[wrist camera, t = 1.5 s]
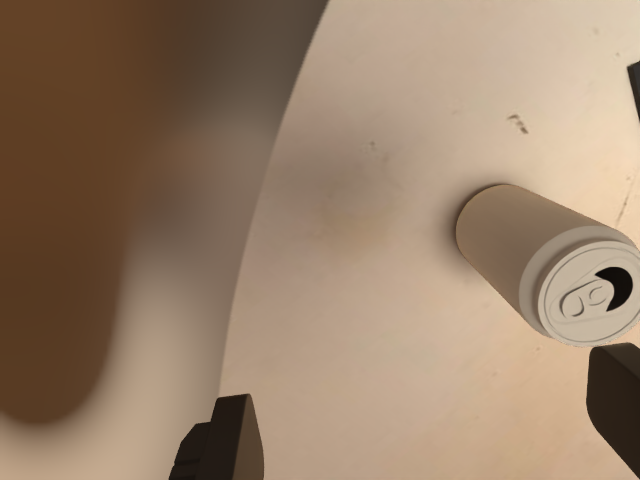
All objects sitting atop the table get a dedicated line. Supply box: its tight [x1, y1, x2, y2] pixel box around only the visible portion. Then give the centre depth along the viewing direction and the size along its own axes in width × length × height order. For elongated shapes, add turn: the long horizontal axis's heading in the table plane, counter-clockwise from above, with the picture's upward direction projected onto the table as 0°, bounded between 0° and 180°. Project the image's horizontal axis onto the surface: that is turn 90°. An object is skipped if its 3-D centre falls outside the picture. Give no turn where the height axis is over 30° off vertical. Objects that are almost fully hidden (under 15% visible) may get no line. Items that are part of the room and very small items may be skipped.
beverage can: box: [456, 185, 640, 347], centre depth 27 cm, size 6×6×12 cm
